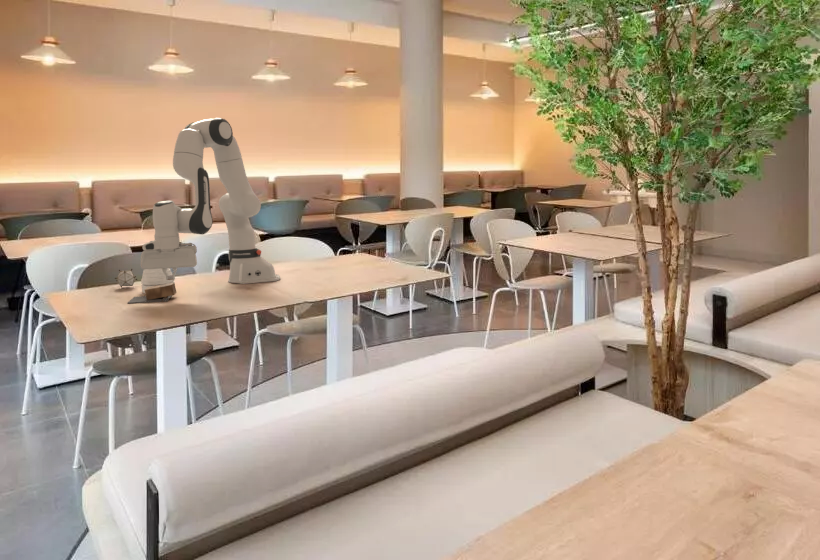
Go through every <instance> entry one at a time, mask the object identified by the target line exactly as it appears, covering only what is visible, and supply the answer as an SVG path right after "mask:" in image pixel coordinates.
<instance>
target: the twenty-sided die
mask: <svg viewBox="0 0 820 560" xmlns="http://www.w3.org/2000/svg"><path fill="white" fill-rule="evenodd" d="M114 279H115V280H116V282H117V283H118V285H119V286H120V287H121V288H123V287H122V286H133V287H134V283H135V282H136V280H138V278H137V276H135V275H134V273H133V268H131V269H129V270H120V269H118V274H117V276H116V277H114Z"/></svg>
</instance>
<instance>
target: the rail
mask: <svg viewBox="0 0 820 560" xmlns="http://www.w3.org/2000/svg"><path fill="white" fill-rule="evenodd" d="M171 298H172V296H167V297H164V299H163V300H162V301H163V302H164V303H165V302H167V303H168V301H169V300H170V299H171Z"/></svg>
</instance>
